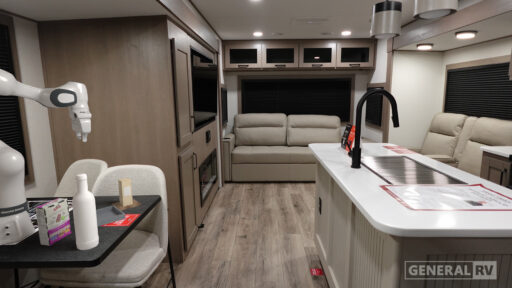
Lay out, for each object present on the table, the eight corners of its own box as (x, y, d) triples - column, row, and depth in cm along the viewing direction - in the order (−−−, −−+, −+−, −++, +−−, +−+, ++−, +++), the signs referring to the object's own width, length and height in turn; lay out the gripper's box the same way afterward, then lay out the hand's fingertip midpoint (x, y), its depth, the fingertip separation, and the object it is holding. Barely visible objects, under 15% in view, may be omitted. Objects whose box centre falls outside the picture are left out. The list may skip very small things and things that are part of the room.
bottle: (72, 247, 116) (64, 175, 111) (91, 238, 123) (85, 170, 118) (83, 252, 112) (76, 178, 107) (103, 243, 119) (96, 173, 114)
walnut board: (119, 211, 151) (119, 210, 151) (111, 205, 159) (111, 203, 159) (141, 205, 160) (141, 204, 159) (132, 200, 168) (132, 198, 168)
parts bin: (91, 229, 131) (90, 223, 131) (81, 219, 142) (81, 213, 141) (125, 219, 142) (125, 213, 142) (114, 210, 153) (113, 205, 152)
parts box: (123, 206, 156) (121, 181, 153) (119, 204, 159) (118, 179, 157) (132, 204, 159) (131, 179, 157) (129, 201, 163) (127, 177, 160)
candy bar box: (62, 232, 128) (58, 197, 126) (72, 233, 127) (68, 198, 125) (39, 245, 118) (34, 207, 115) (49, 246, 117) (44, 208, 114)
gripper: (67, 113, 152) (69, 138, 155) (78, 115, 138) (80, 143, 140) (80, 112, 157) (82, 137, 159) (92, 114, 142) (94, 142, 145)
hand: (81, 140), depth 150 cm, fingers open, 8 cm apart
